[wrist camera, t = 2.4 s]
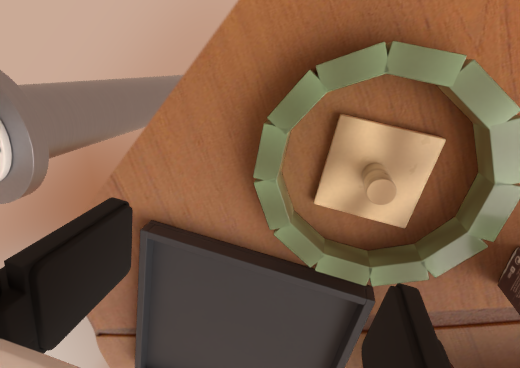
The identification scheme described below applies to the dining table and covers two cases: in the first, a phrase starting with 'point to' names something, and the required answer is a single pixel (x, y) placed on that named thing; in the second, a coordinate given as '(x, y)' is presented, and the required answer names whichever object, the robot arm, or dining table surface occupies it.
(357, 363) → the dining table surface
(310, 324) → the tray
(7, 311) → the robot arm
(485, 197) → the green ring
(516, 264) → the box
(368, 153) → the peg
